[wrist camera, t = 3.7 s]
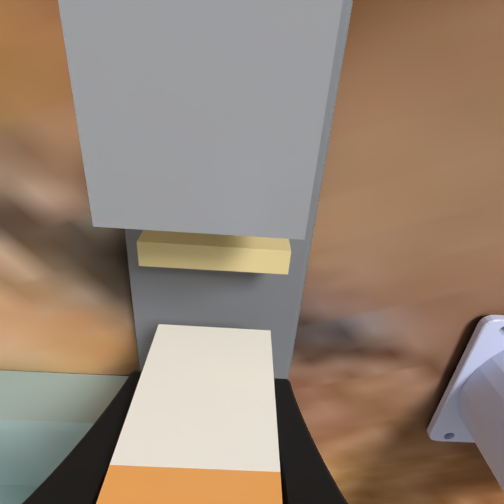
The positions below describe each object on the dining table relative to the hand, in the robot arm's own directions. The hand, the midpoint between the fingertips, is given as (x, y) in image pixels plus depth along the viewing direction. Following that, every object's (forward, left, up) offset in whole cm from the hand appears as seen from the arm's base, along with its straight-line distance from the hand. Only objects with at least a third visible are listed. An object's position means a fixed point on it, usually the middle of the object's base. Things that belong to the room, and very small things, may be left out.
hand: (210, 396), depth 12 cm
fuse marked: (0, 0, -1) cm, 1 cm away
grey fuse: (0, -9, -3) cm, 10 cm away
